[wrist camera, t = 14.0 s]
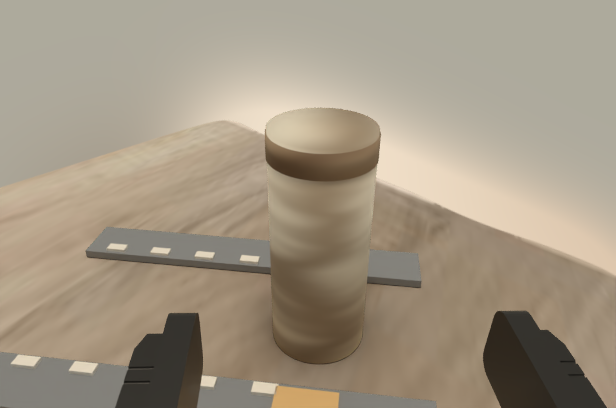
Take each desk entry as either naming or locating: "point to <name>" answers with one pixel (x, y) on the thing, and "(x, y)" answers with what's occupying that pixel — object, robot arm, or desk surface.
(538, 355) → the robot arm
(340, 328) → the cream stub
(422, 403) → the dashed lane plates
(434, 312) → the desk surface
